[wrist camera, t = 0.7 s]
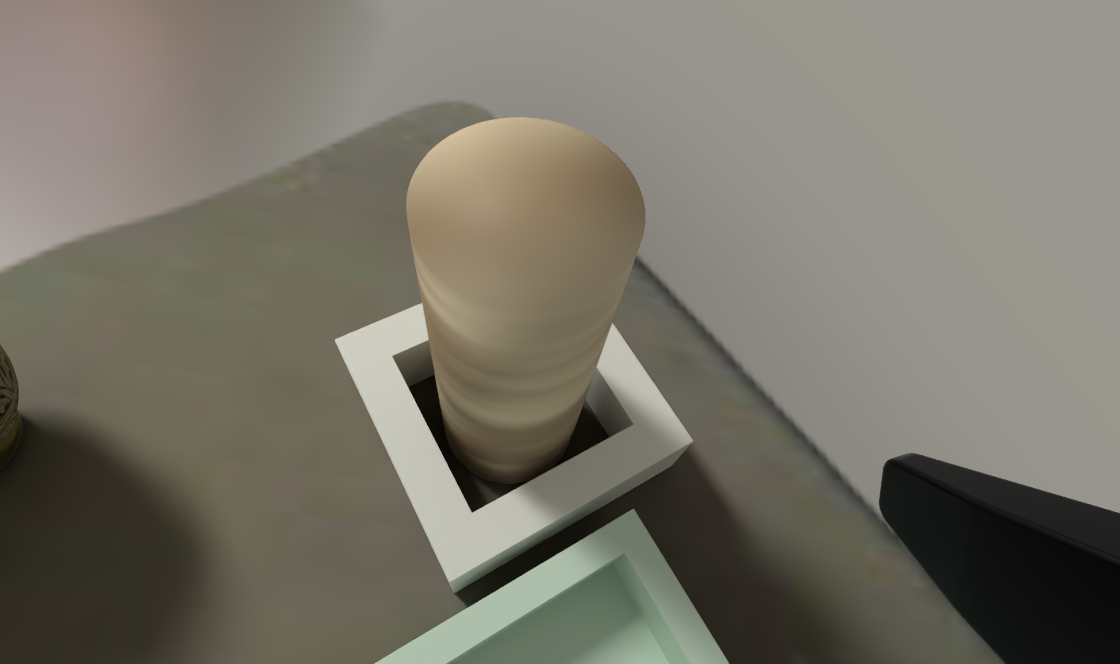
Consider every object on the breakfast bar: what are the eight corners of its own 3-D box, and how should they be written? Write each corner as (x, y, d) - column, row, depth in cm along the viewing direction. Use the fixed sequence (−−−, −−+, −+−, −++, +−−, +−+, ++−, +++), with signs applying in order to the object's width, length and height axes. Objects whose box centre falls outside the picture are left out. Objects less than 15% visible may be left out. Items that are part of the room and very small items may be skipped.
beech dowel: (596, 445, 25) (691, 248, 13) (481, 508, 23) (474, 346, 12) (534, 343, 26) (569, 92, 15) (422, 395, 25) (367, 159, 13)
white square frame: (671, 466, 24) (693, 441, 22) (454, 593, 22) (449, 582, 19) (552, 285, 28) (559, 245, 25) (350, 374, 25) (334, 339, 22)
